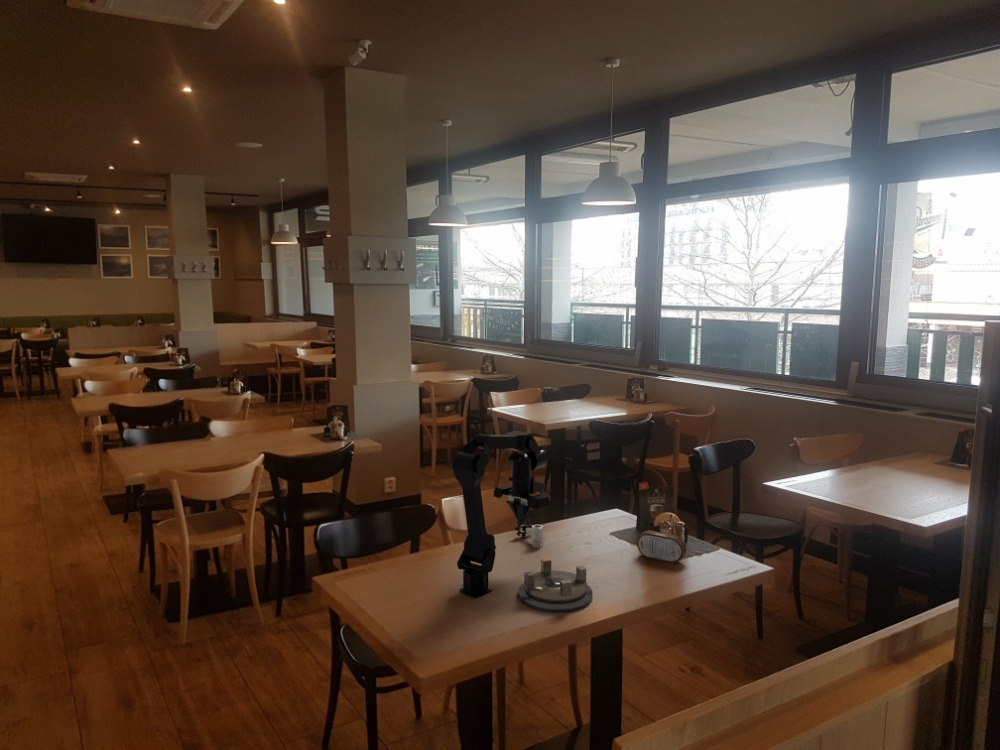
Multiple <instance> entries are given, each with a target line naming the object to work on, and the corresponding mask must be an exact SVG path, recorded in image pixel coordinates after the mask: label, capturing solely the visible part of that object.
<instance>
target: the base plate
mask: <svg viewBox="0 0 1000 750" xmlns="http://www.w3.org/2000/svg"><path fill="white" fill-rule="evenodd" d="M593 598H594V597H593V589H592V587H591V586H590V585H589V584H587V594H586V595H585V597H583V598H582V599H580V600H578V601H575V602H571V603H564V604H552V603H544V602H540V601H537V600H534V599H532V598H530V597H529V596H527V595H526V593H525V591H524V582H522V583H521V584H520V586H519V588H518V599H519V600H520V601H521V602H522V604H524V605H526V606H527V607H529V608H532V609H534V610H538V611H540V612H541V611H542V612H546V613H568V612H574V611H578V610H581V609H584V608H585V607H588V606H589V605H590V604H591V602H592V601H593Z"/></svg>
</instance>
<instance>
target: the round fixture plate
mask: <svg viewBox="0 0 1000 750" xmlns="http://www.w3.org/2000/svg"><path fill="white" fill-rule="evenodd" d="M575 568H576V569H575V573H574V572H573V573H572V572H570V571H565V570H564V571H562V570H552V560H551V558H550V557H546V558H545V557H544V558H541V559H540V571H538V572H534V573H533V572H532V571H525V572H524V574H523V575H524V577H523V578H524V580H523V583H524V591H525V593H526V595H527V596H529V597H530V598H532V599H534V600H537V601H540V602H544V603H552V604H564V603H571V602H575V601H578V600H580V599H582V598H583V597H585V595H586V594H587V585H588V583H587V568H586V567H585V566H584V565H576V567H575Z"/></svg>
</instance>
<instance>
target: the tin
mask: <svg viewBox="0 0 1000 750" xmlns="http://www.w3.org/2000/svg"><path fill="white" fill-rule="evenodd" d="M636 541H637V542H636V545H637V550H638V551H639V552H640V554H641V555H643V556H644V557H646V558H648V559H652V560H656V561H661V562H665V561H667V563H670V562H671V564H675V563H677V562H680V561H681V560H682V559H683V558H684V557H685V555H686V553H687V547H686V544H685V542H684V540H682V538H680V537H679V536H678V535H675V534H671V533H667V532H660V531H655V530H649V529H648V530H647V529H646V530H644V531H642V532H641V534H640V535H639V536H638V538H637V540H636Z"/></svg>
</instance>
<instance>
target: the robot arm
mask: <svg viewBox="0 0 1000 750" xmlns="http://www.w3.org/2000/svg"><path fill="white" fill-rule="evenodd" d="M479 449H480V450H483V451H482V453H481V454H480V455H479V454H474V453H475V452H476V451H478V450H479ZM495 449H496V450H497V449H498V450H499V449H500V450H501V449H502V450H506V449H507V450H511V451H516V452H511V455H509V456H508V458H507V460H508V461H510V462H511V476H508V481H509V482H511V485H510V484H503V485H499V486H495V488H494V490H493V497H494V498H498V499H501V498H502V497H503V496H507V498H508V499H507V501H506V504H508V505H509V508H510V509H511V511H512V513H513V514H514V517H515V519H516V522H517V521H518V523H519V524H520V525H521V526H522V525H525V523H524V521H526V520H525V519H526V518H527V516H528V513H529V511H530V509H533V510H540V509H545V508H548V507H550V506H551V498H550V497H549V496H548V495H544V491H545V488H546V483H543V482H539V481H536V480H535V477H534V476H532V471H534V470H536V469H540V468H542V467H545V466H546V465H547V464H548V460H549V457H548V454H547V453H546V452H545V450H543V445H539V444H538V443H537V441H536V438H535V437H534V434H533V433H532V432H526V431H517V430H512V431H509V432H507V433H506V434H486V433H485V434H484V433H477V434H475V435H474V436H473V438H472V439H471V440H470V441H468V442H467V443H465V444H464V445H463V446H461V447H460V448H459V449H458V451H457V452H456V454H455V455H454V457H453V458H452V460H451V467H452V470H453V474H454V478H455V479H456V481H457V482H458V483H459V484H460V486H461V489H462V490H461V492H462V497H463V498H462V499H463V504H464V505H463V507H464V512H465V521H466V527H467V528H466V529H467V536H466V538H465V540H464V541H463V550H462V552H461V554H460V556H459V558H458V560H457V562H456V565H457V568H458V570H462V585H463V587H461V588H459V592H461V593H463V594H464V595H467V596H469V597H471V598H474V599H476V598H478V597H481V596H483V595H486V594H488V593H491V592H492V588H489V573H491V572H492V571H493V569H494V564H495V559H496V549H497V546H496V540H495V538H496V537H495V536H494V534H490V533H488V532H487V527H486V520H485V512H484V505H483V504H484V503H483V497H482V489H481V483H482V480H483V479H484V477H485V472H486V471H485V468H486V467H487V465H488V464H489V462H490V461H491V451H492V450H495ZM536 493H539V494H536Z"/></svg>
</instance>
